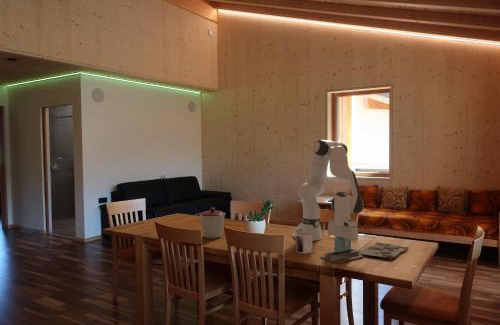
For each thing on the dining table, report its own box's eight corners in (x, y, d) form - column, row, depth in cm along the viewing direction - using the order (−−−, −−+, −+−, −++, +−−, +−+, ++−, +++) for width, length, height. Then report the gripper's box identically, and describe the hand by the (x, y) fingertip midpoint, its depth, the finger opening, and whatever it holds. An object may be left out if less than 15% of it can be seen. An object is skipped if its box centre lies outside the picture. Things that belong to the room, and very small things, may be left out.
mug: (314, 249, 242) (314, 231, 241) (312, 255, 230) (312, 236, 230) (297, 248, 245) (297, 231, 244) (294, 254, 233) (294, 235, 232)
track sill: (320, 258, 224) (320, 252, 224) (345, 252, 235) (345, 246, 235) (338, 264, 212) (338, 257, 212) (363, 257, 223) (363, 251, 223)
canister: (200, 240, 268) (199, 210, 266) (199, 234, 285) (199, 205, 284) (226, 239, 270) (226, 209, 269) (224, 233, 288) (224, 204, 287)
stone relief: (409, 249, 240) (377, 243, 253) (409, 245, 240) (377, 239, 252) (390, 263, 215) (356, 256, 228) (390, 258, 215) (356, 251, 227)
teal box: (334, 251, 222) (334, 238, 222) (347, 248, 228) (346, 236, 227) (338, 252, 220) (338, 239, 219) (350, 249, 225) (350, 237, 225)
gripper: (325, 219, 230) (325, 242, 230) (351, 224, 212) (352, 250, 213) (333, 217, 233) (333, 240, 234) (359, 223, 216) (360, 248, 217)
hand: (342, 245), depth 223 cm, fingers closed on teal box, 3 cm apart
